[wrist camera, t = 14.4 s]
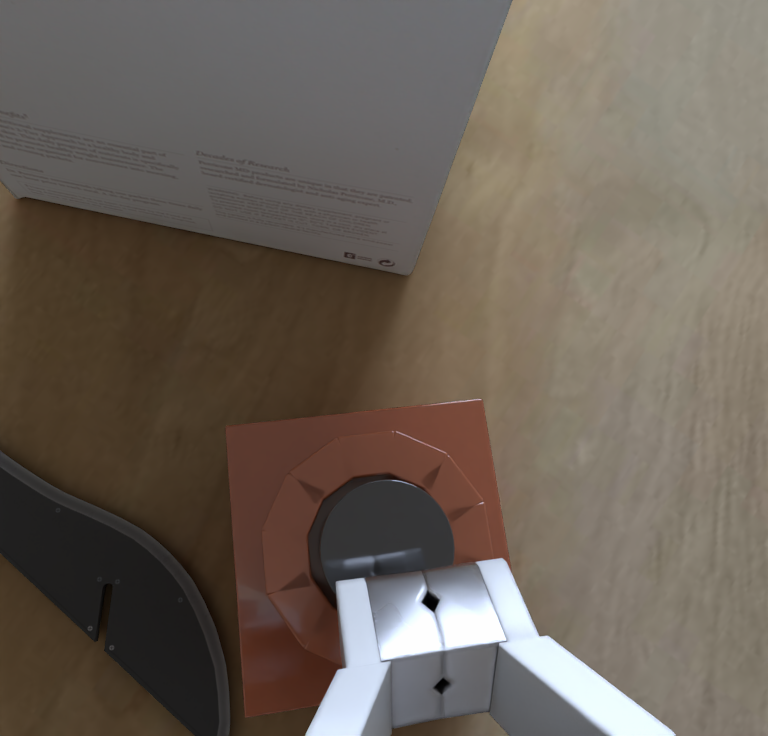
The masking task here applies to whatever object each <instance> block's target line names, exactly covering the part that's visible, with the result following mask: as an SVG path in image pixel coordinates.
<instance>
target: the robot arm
mask: <svg viewBox="0 0 768 736" xmlns="http://www.w3.org/2000/svg"><path fill="white" fill-rule="evenodd" d="M335 585H336V599H337V613H338V626H339V638H340V650H341V659H342V667H343V669H338V670H337V672H336V674H335V676H334V678H333V680H332V682H331V684H330V686H329V688H328V690H327V692H326V694H325V696H324V698H323V700H322V702H321V704H320V706H319V708H318V710H317V712H316V714H315V716H314V718H313V720H312V722H311V724H310V726H309V728H308V730H307V732H306V734H305V736H391V733H392V729H394V728H398V727H403V726H408V725H413V724H418V723H423V722H427V721H432V720H437V719H443V718H449V717H456V716H463V715H470V714H477V713H483V712H490V715H491V716H492V717H493V718H494V719H495V721H496V722H497V723H498V724H499V725H500V726H501V727H502V728H503V729H504V730H505V731H506V732H507V734H508V735H509V736H675V734H674V732H673V731H672V730H670V729H669V728H668V727H667V726H665V725H664V724H663V723H661V722H660V721H659V720H657V719H656V718H655V717H653V716H652V715H651V714H650V713H648V712H647V711H646V710H644V709H643V708H642V707H640V706H639V705H638V704H637V703H635V702H634V701H633V700H631V699H630V698H629V697H627V696H626V695H625V694H623V693H622V692H621V691H620V690H618V689H617V688H616V687H614V686H613V685H612V684H610V683H609V682H608V681H606V680H605V679H604V678H603V677H601V676H600V675H599V674H597V673H596V672H595V671H593V670H592V669H591V668H589V667H588V666H587V665H586V664H584V663H583V662H582V661H580V660H579V659H578V658H576V657H575V656H574V655H572V654H571V653H570V652H569V651H567V650H566V649H565V648H563V647H562V646H561V645H559V644H558V643H557V642H556V641H554V640H553V639H552V638H550V637H549V636H540V637H539V634H538V632H537V630H536V628H535V625H534V623H533V621H532V619H531V616H530V614H529V612H528V609H527V607H526V605H525V603H524V600H523V598H522V596H521V594H520V591H519V589H518V587H517V584H516V582H515V580H514V578H513V575H512V573H511V571H510V569H509V566H508V564H507V562H506V561H505V560H504V559H503V558H499V559H492V560H485V561H478V562H467V563H461V564H455V565H448V566H442V567H436V568H429V569H423V570H420V571H416V572H407V573H398V574H390V575H381V576H373V577H365V579H364V578H358V579H350V580H342V581H336V584H335Z"/></svg>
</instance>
